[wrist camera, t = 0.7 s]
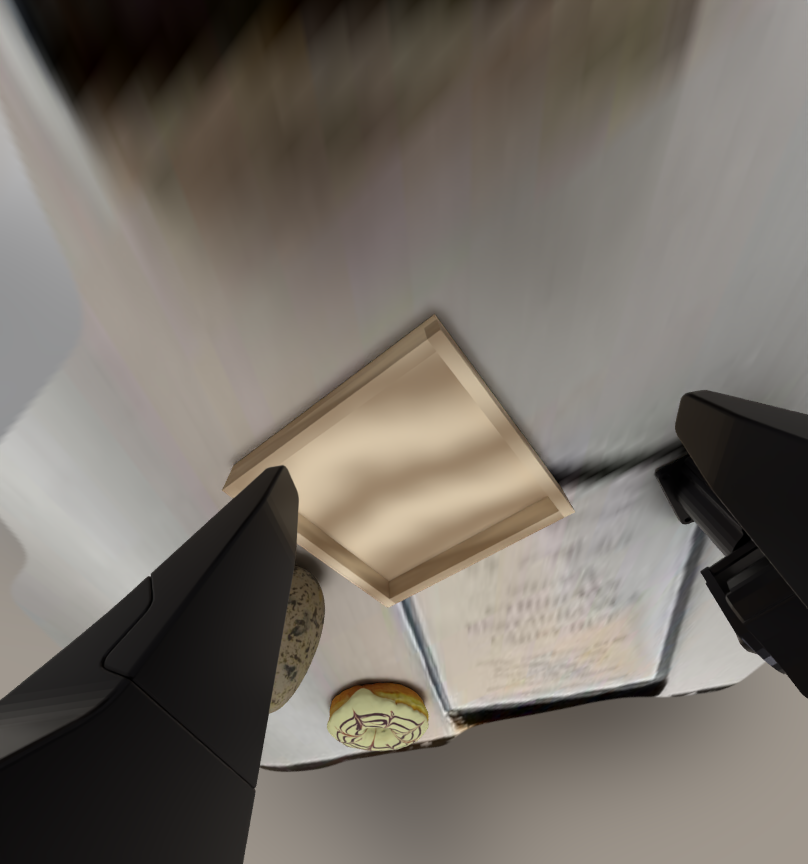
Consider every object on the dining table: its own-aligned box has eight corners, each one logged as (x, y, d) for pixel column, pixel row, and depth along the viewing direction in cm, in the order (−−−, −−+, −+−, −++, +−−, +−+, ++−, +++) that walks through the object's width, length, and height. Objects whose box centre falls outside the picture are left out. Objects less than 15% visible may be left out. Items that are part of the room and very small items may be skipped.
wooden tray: (561, 488, 29) (575, 511, 27) (387, 581, 34) (387, 607, 32) (434, 314, 22) (440, 329, 20) (233, 465, 26) (221, 490, 24)
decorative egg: (255, 594, 34) (216, 734, 26) (250, 545, 31) (204, 688, 22) (328, 596, 35) (313, 733, 26) (330, 548, 31) (314, 688, 23)
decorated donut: (347, 668, 42) (345, 709, 39) (441, 683, 45) (445, 722, 42) (318, 714, 47) (314, 753, 44) (404, 724, 50) (406, 762, 47)
